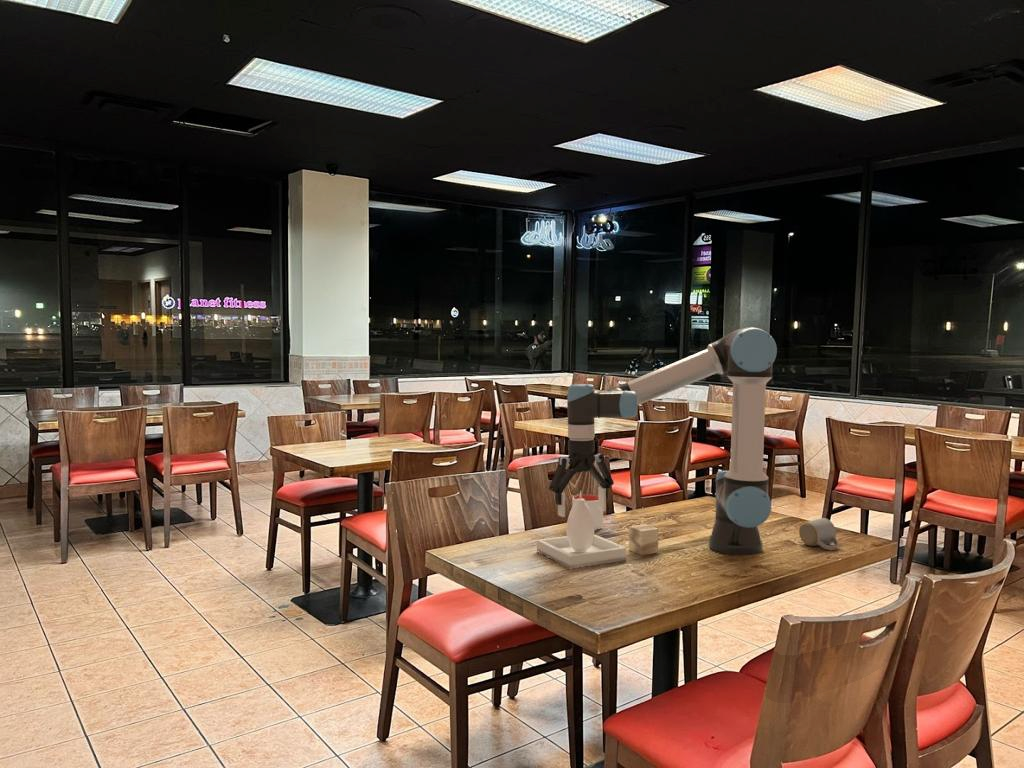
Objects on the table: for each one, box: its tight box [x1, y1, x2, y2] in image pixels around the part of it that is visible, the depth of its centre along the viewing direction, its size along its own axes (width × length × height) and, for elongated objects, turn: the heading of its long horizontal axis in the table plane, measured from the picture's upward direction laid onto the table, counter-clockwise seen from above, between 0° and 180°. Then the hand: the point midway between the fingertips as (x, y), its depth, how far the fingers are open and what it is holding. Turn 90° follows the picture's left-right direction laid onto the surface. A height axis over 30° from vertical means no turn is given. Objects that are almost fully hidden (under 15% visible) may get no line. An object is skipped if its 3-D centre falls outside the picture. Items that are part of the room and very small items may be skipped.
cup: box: [571, 494, 604, 531], centre depth 241 cm, size 10×10×10 cm
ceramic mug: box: [798, 517, 839, 551], centre depth 220 cm, size 11×8×8 cm
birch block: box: [628, 523, 659, 556], centre depth 214 cm, size 6×6×7 cm
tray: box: [536, 533, 627, 570], centre depth 210 cm, size 18×18×4 cm
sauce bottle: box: [566, 490, 595, 553], centre depth 209 cm, size 8×8×18 cm
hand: (582, 513), depth 209 cm, fingers open, 13 cm apart
